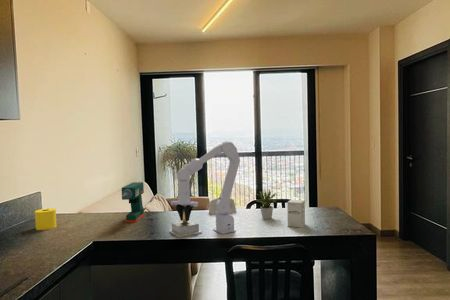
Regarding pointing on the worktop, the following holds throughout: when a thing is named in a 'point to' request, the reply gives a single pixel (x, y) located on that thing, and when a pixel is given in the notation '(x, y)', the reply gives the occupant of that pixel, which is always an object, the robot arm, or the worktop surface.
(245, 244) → the worktop surface
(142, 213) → the power tool
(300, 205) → the supplement box
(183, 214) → the brass cylinder rod
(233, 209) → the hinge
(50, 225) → the yellow holed block
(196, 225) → the chuck block
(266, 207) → the house plant
